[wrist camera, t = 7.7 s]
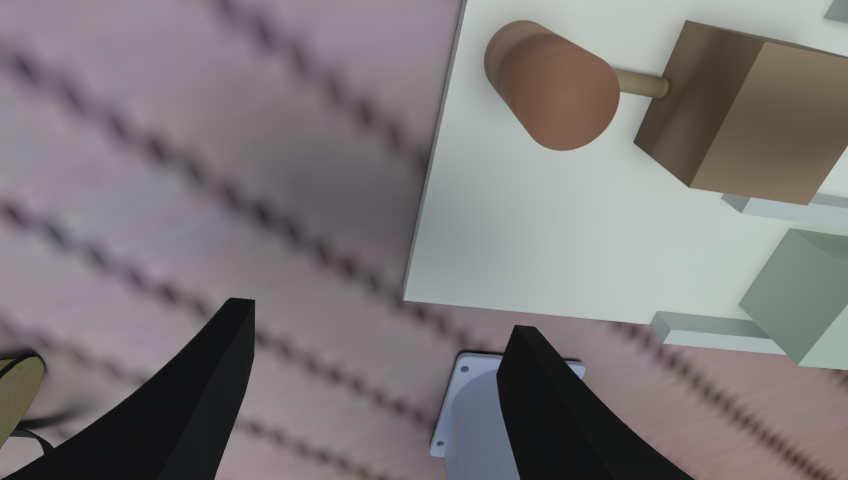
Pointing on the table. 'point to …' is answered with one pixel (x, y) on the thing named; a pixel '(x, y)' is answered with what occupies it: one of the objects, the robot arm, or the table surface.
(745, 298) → the sage block
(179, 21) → the table surface
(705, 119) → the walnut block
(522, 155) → the pale grey tray
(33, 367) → the clutch purse
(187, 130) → the table surface
